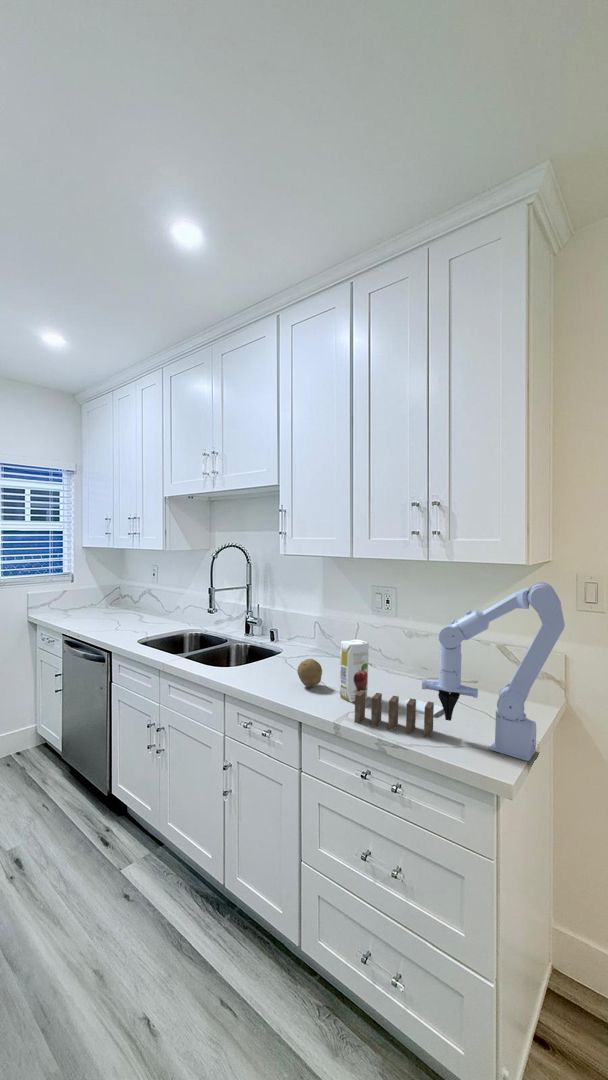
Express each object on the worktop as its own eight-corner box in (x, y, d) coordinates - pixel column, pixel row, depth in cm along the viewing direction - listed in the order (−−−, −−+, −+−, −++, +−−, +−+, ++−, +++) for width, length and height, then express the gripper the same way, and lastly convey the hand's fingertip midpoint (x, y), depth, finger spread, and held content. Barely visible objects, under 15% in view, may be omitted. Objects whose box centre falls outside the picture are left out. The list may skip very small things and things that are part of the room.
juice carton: (336, 696, 157) (337, 640, 157) (356, 692, 162) (357, 638, 162) (350, 703, 151) (351, 645, 151) (370, 699, 156) (372, 642, 155)
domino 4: (415, 727, 134) (416, 699, 134) (411, 733, 129) (412, 704, 129) (409, 726, 134) (410, 698, 134) (405, 732, 130) (406, 703, 130)
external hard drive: (434, 719, 141) (397, 708, 150) (445, 712, 148) (410, 702, 156) (434, 714, 141) (398, 703, 150) (445, 707, 148) (410, 697, 156)
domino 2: (381, 720, 138) (381, 693, 138) (376, 726, 133) (377, 698, 133) (375, 719, 139) (376, 692, 138) (371, 725, 134) (371, 697, 134)
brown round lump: (301, 681, 173) (302, 654, 173) (324, 684, 170) (325, 657, 170) (294, 689, 164) (294, 660, 164) (318, 692, 162) (319, 663, 161)
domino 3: (397, 723, 136) (398, 696, 136) (393, 730, 131) (394, 701, 131) (392, 722, 136) (393, 695, 136) (388, 729, 132) (388, 700, 132)
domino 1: (364, 717, 140) (365, 690, 140) (359, 723, 135) (360, 695, 135) (359, 716, 141) (360, 689, 141) (354, 722, 136) (355, 694, 136)
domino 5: (432, 730, 132) (433, 702, 132) (429, 737, 127) (430, 708, 127) (427, 729, 132) (428, 701, 132) (423, 736, 128) (424, 707, 128)
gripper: (479, 669, 128) (477, 719, 128) (425, 662, 134) (424, 709, 134) (477, 676, 122) (475, 728, 122) (421, 668, 128) (419, 717, 128)
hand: (448, 719), depth 127 cm, fingers closed
